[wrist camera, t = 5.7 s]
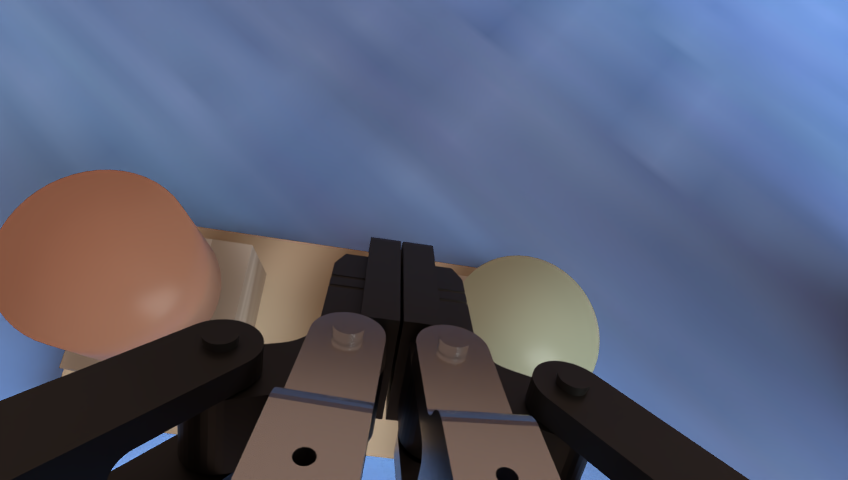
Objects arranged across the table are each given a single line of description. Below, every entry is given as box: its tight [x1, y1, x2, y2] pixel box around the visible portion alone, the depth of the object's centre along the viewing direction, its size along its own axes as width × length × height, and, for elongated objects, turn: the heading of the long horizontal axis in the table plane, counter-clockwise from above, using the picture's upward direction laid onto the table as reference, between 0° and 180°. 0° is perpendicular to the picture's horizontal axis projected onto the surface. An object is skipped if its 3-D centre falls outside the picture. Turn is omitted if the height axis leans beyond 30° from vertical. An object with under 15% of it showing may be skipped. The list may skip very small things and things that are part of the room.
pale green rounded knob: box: [463, 256, 599, 377], centre depth 22 cm, size 6×6×7 cm
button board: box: [59, 227, 477, 459], centre depth 25 cm, size 24×10×6 cm, turn 84°
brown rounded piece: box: [0, 170, 221, 361], centre depth 19 cm, size 6×6×7 cm
